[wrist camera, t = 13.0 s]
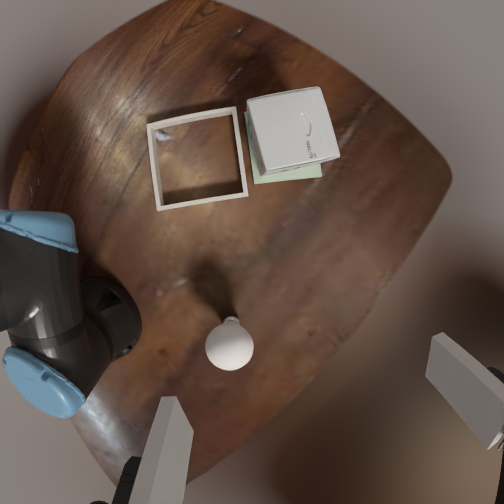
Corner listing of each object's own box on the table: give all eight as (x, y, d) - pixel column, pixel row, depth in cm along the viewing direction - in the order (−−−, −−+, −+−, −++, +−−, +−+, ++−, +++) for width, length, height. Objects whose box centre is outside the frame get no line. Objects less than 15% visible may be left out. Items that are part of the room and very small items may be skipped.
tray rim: (161, 210, 40) (157, 211, 38) (150, 127, 37) (146, 124, 35) (248, 196, 40) (248, 196, 38) (236, 110, 37) (235, 106, 35)
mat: (254, 184, 39) (254, 184, 39) (244, 112, 37) (244, 111, 36) (320, 176, 39) (321, 176, 39) (310, 107, 37) (310, 106, 36)
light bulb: (249, 301, 43) (251, 336, 32) (254, 337, 45) (256, 377, 34) (208, 305, 43) (197, 340, 32) (215, 341, 45) (207, 381, 34)
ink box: (245, 122, 37) (245, 97, 25) (301, 111, 36) (321, 84, 25) (259, 178, 38) (265, 173, 27) (316, 165, 38) (343, 157, 27)
